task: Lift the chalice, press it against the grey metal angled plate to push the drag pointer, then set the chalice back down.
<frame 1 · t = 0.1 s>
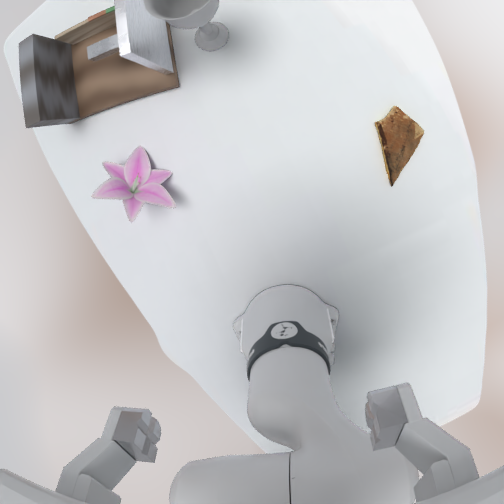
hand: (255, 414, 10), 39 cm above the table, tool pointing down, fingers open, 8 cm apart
grey metal angled plate: (118, 37, 29), point 10 cm above the table, slide at 0.0 cm
shard: (400, 143, 42), on the table
chalice: (211, 36, 37), on the table
gauge housing: (114, 65, 39), on the table
lily: (147, 178, 47), on the table
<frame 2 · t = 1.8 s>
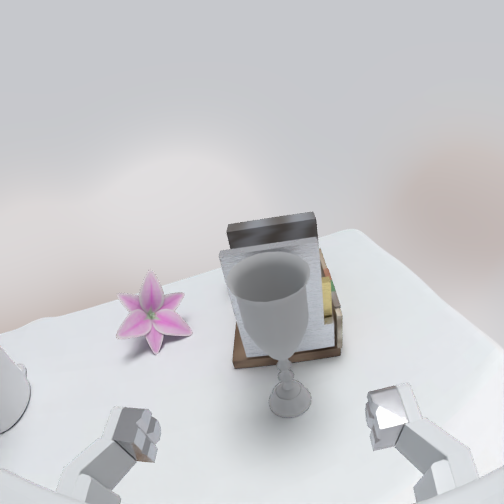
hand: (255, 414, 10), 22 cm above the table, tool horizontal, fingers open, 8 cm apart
grey metal angled plate: (281, 284, 38), point 9 cm above the table, slide at 0.0 cm
chalice: (290, 400, 34), on the table
gauge housing: (283, 314, 48), on the table
lily: (162, 336, 48), on the table
drag pointer: (325, 310, 37), point 6 cm above the table, slide at 0.0 cm
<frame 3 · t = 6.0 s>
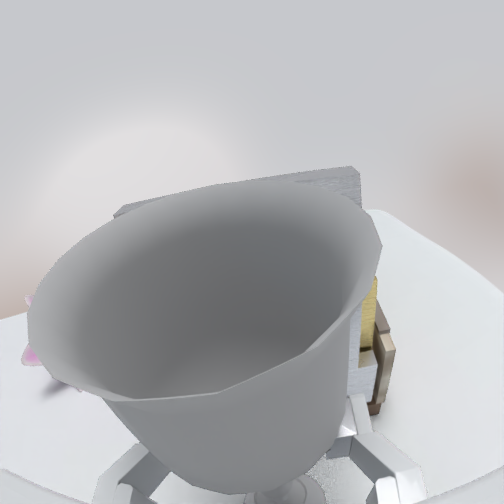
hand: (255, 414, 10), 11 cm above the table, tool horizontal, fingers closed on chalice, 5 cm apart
grey metal angled plate: (271, 285, 19), point 9 cm above the table, slide at 0.0 cm
gauge housing: (278, 335, 28), on the table
lily: (95, 362, 29), on the table
drag pointer: (359, 337, 18), point 6 cm above the table, slide at 0.0 cm
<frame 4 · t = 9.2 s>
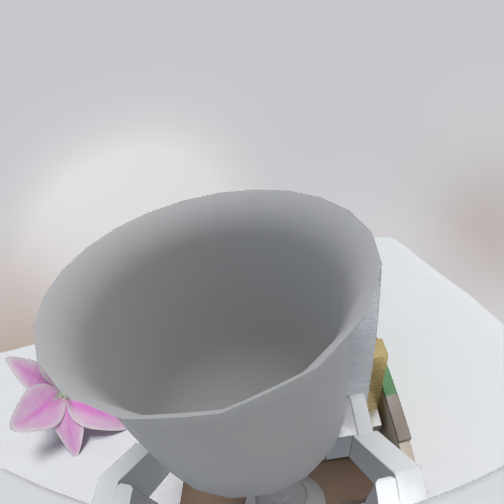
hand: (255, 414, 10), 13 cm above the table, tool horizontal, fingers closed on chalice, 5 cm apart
grey metal angled plate: (275, 346, 18), point 9 cm above the table, slide at 3.3 cm, touching chalice, drag pointer
gauge housing: (281, 404, 24), on the table
lily: (87, 422, 24), on the table
drag pointer: (364, 398, 16), point 6 cm above the table, slide at 3.1 cm, touching grey metal angled plate
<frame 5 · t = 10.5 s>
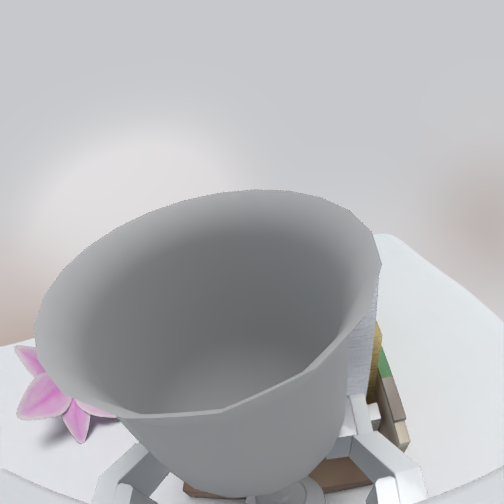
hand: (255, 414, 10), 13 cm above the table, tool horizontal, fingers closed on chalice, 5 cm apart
grey metal angled plate: (276, 340, 18), point 10 cm above the table, slide at 2.4 cm
gauge housing: (282, 391, 25), on the table
lily: (93, 411, 26), on the table
drag pointer: (361, 381, 17), point 6 cm above the table, slide at 3.2 cm
when the fingers open (11 cm above the table, at t = 12.8 s): chalice stays where it is, on the table.
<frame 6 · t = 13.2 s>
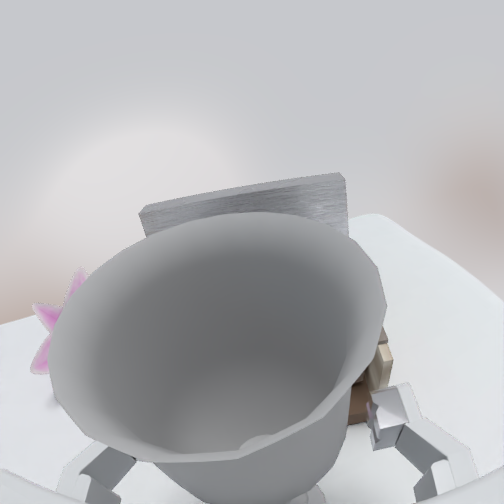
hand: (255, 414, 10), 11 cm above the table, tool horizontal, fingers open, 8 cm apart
grey metal angled plate: (272, 275, 22), point 9 cm above the table, slide at 2.4 cm
gauge housing: (279, 342, 29), on the table
lily: (103, 369, 29), on the table
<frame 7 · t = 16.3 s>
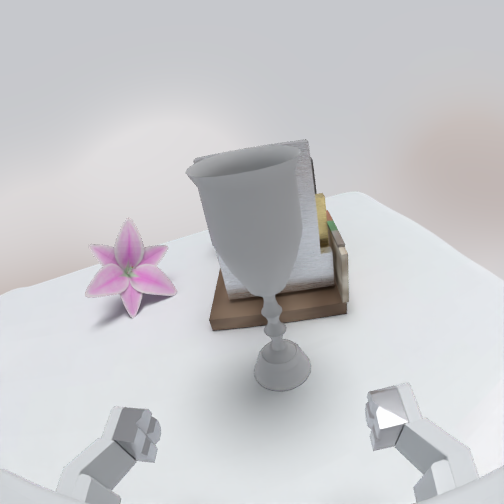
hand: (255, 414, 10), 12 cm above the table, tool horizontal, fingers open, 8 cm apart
grey metal angled plate: (269, 210, 33), point 10 cm above the table, slide at 2.4 cm
chalice: (282, 369, 26), on the table
gauge housing: (275, 271, 40), on the table
lily: (141, 299, 40), on the table
drag pointer: (320, 236, 32), point 6 cm above the table, slide at 3.2 cm
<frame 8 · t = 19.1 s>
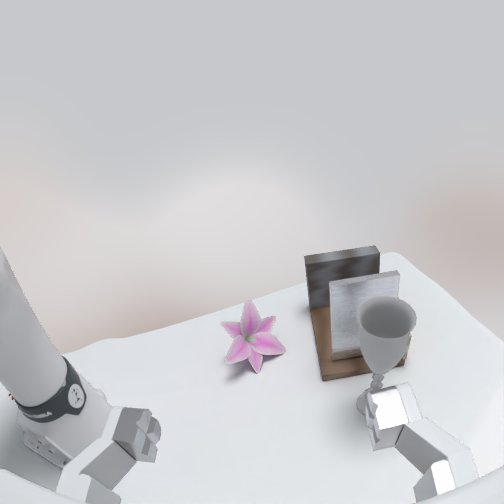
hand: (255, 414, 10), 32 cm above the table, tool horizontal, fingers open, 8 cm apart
grey metal angled plate: (361, 302, 47), point 9 cm above the table, slide at 2.4 cm
chalice: (372, 403, 41), on the table
gauge housing: (352, 332, 55), on the table
lily: (256, 356, 55), on the table
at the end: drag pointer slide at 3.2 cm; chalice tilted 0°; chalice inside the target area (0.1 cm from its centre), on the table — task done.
